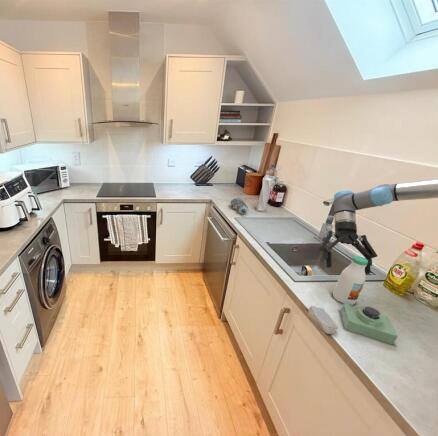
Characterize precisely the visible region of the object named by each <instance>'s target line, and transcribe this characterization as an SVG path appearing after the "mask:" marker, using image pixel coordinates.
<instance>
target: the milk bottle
mask: <svg viewBox="0 0 438 436" xmlns="http://www.w3.org/2000/svg"><path fill="white" fill-rule="evenodd" d="M350 262H351V263H350V264H349V265H347V266H346V267H345V268H344V269H342V271H341V273H340V275H339V277H338V279H337V282H336V284H335V287H334V288H333V292H332V296H333V298H334V299H335V300H336V301H338V302H339V303H340V304H341V303H342V304H343V303H345V304H348V305H352V306H354V305H355V304H356V302H357V300H358V298H359V296H360V294H361V292H362V290H363V287H364V285H365V283H366V280H367V279H366V278H367V276H366V275H367V274H365V267H366V266H367V264H368V260H367V259H365V257H364V256H359V255H354V256H353V257H352V258H351V261H350Z"/></svg>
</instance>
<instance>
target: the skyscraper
mask: <svg viewBox="0 0 438 436" xmlns="http://www.w3.org/2000/svg"><path fill="white" fill-rule="evenodd" d="M273 181H274V179H273V178H270V177H269V175H268V174H267V175H265V176H264V177H263V178H262V187H261V190H260V193H259V199H258V201H257V205H256V207H255V211H256V212H262V213H266V207H267V205H268V202H269V200H270V199H269V198H270V194H271V186H272V184H273Z"/></svg>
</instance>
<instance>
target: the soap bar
mask: <svg viewBox="0 0 438 436" xmlns="http://www.w3.org/2000/svg"><path fill="white" fill-rule="evenodd" d="M307 312H308V316H309V319H311V321H313V323H314V324H315V325H316V326H317V327H318V328H319V329H320V331H322V332H323V333H324V334H327V335H331V334H335V333H336V332H337V330H338V329H339V326H338V324H337V322H335V321H334V320H333V318H332V317H331V316H330V314H329V313H328V312H327V311H326V310H325V309H324V308H323V307H318V306H314V305H310V306H309V309H308V311H307Z"/></svg>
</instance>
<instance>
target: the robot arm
mask: <svg viewBox="0 0 438 436" xmlns="http://www.w3.org/2000/svg"><path fill="white" fill-rule="evenodd" d="M429 199H430V200H431V199H438V178H435V179H426V180H417V181H410V182H400V183H399V182H398V183H392V184H391V183H390V184H389V183H383V184H380V185H377V186H375V187H372V188H370V189H367V190H363V191H359V192H355V193H354V191H352V190H339V191H337V192H336V193H334V195H333V202H332V203H333V212H334V215H333V217H334V231H332V230H329V231H327V232H326V237H325V238H324V240H323V242H322V243H321V244H320V246H319V248H318V251H321V252H322V253H323V259H324V260H325V261H326V268H327V269H329V268H332V267H333V266H332V265H333V264H332V251H331V250H332V249H333V248H334V247H335V246H336V245H337V244H339V243H340V244H346V245H351V246H352V247H354V248H355V249H356V250H357V251H358V252H359V253H360V254H361V255H362V257H363V258H365V259H367V260H368V264H367V266H366V267H365V275H368V274H371V273H372V271H371V267H372V266H373V259H374V258H377V257H378V254H377V252H376V251H375V249H374V248H373V246H372V245H371V243H370V241H368V238H367V235H366V234H362V235H358V227H357V214H356V212H357V211H360V210H364V209H370V208H375V207H382V206H386V205H390V204H391V203H392V202H401V201H402V202H403V201H415V200H416V201H417V200H429ZM332 237H334V238H335V240H334V241H332V243H331V244H329V245H328V243H329V241H330V240H331V238H332ZM327 245H328V246H327Z"/></svg>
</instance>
